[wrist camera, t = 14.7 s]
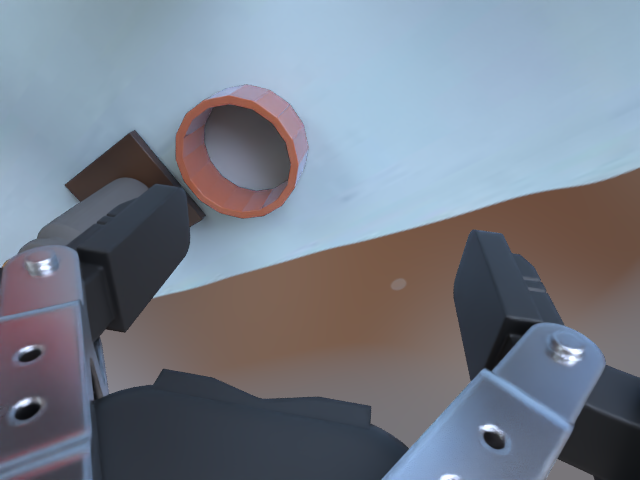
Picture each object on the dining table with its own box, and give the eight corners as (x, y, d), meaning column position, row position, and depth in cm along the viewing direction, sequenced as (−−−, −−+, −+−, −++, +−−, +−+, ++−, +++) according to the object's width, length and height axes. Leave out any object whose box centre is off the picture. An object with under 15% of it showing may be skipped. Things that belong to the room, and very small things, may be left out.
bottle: (136, 234, 47) (40, 323, 34) (96, 194, 45) (-21, 272, 32) (170, 210, 45) (81, 295, 32) (130, 166, 43) (18, 239, 30)
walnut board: (70, 181, 46) (64, 185, 45) (134, 129, 42) (129, 132, 41) (140, 255, 50) (135, 260, 49) (205, 215, 45) (202, 219, 45)
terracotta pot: (175, 125, 41) (150, 141, 36) (261, 60, 36) (244, 68, 32) (244, 213, 45) (228, 236, 40) (329, 163, 40) (321, 182, 36)
